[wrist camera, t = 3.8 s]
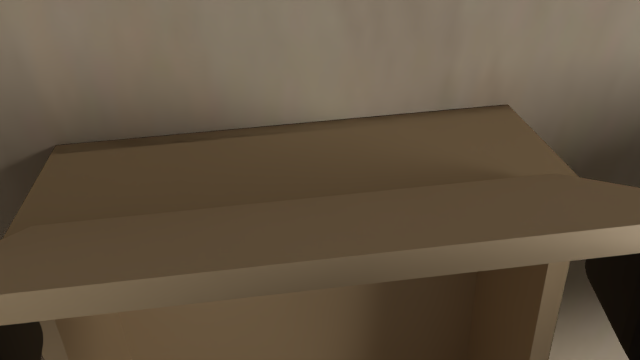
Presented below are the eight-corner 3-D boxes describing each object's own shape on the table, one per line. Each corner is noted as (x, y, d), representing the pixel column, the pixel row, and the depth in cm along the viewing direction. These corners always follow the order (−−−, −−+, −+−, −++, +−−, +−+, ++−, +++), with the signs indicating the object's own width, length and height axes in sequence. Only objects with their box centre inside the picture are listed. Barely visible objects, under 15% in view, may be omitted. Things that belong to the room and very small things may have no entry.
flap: (556, 189, 15) (555, 173, 15) (769, 238, 8) (769, 210, 8) (34, 243, 14) (31, 225, 13) (-159, 344, 7) (-164, 312, 7)
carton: (507, 104, 19) (587, 184, 15) (469, 398, 26) (515, 510, 22) (55, 145, 18) (-2, 245, 14) (145, 441, 25) (126, 567, 21)
